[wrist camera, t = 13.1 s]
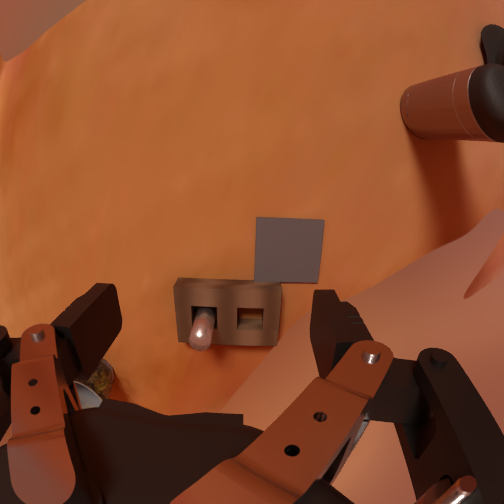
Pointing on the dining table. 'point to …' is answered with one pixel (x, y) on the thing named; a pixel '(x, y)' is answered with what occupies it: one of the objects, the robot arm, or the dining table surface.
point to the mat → (288, 249)
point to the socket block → (230, 309)
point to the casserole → (493, 44)
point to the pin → (203, 328)
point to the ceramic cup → (95, 386)
